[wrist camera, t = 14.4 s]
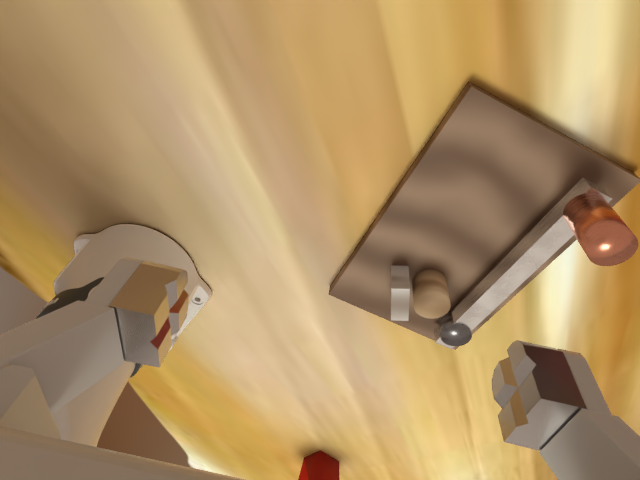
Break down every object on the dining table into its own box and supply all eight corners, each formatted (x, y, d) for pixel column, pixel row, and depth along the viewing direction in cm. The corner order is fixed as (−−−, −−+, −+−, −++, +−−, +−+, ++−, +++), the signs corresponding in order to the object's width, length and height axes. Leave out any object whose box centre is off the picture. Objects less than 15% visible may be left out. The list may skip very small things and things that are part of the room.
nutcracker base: (454, 340, 57) (459, 374, 53) (330, 286, 55) (324, 317, 50) (633, 173, 41) (663, 202, 36) (468, 81, 38) (479, 100, 33)
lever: (453, 336, 54) (462, 393, 47) (429, 326, 53) (435, 382, 47) (607, 189, 40) (651, 240, 33) (576, 173, 39) (614, 221, 32)
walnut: (433, 299, 51) (436, 323, 48) (405, 286, 51) (406, 309, 48) (453, 278, 49) (458, 302, 46) (424, 264, 49) (426, 287, 45)
